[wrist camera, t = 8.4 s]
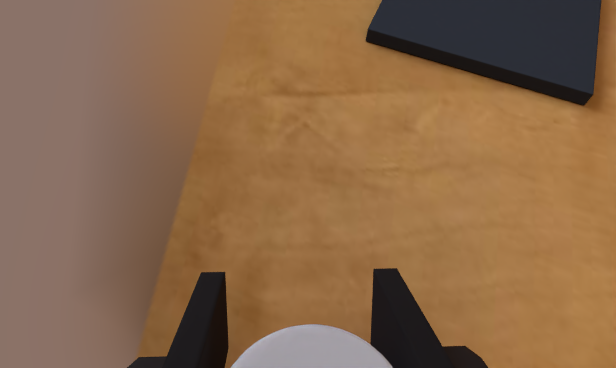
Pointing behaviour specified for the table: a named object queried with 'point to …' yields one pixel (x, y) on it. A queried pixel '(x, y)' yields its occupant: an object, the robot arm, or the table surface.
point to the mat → (500, 39)
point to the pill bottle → (311, 350)
